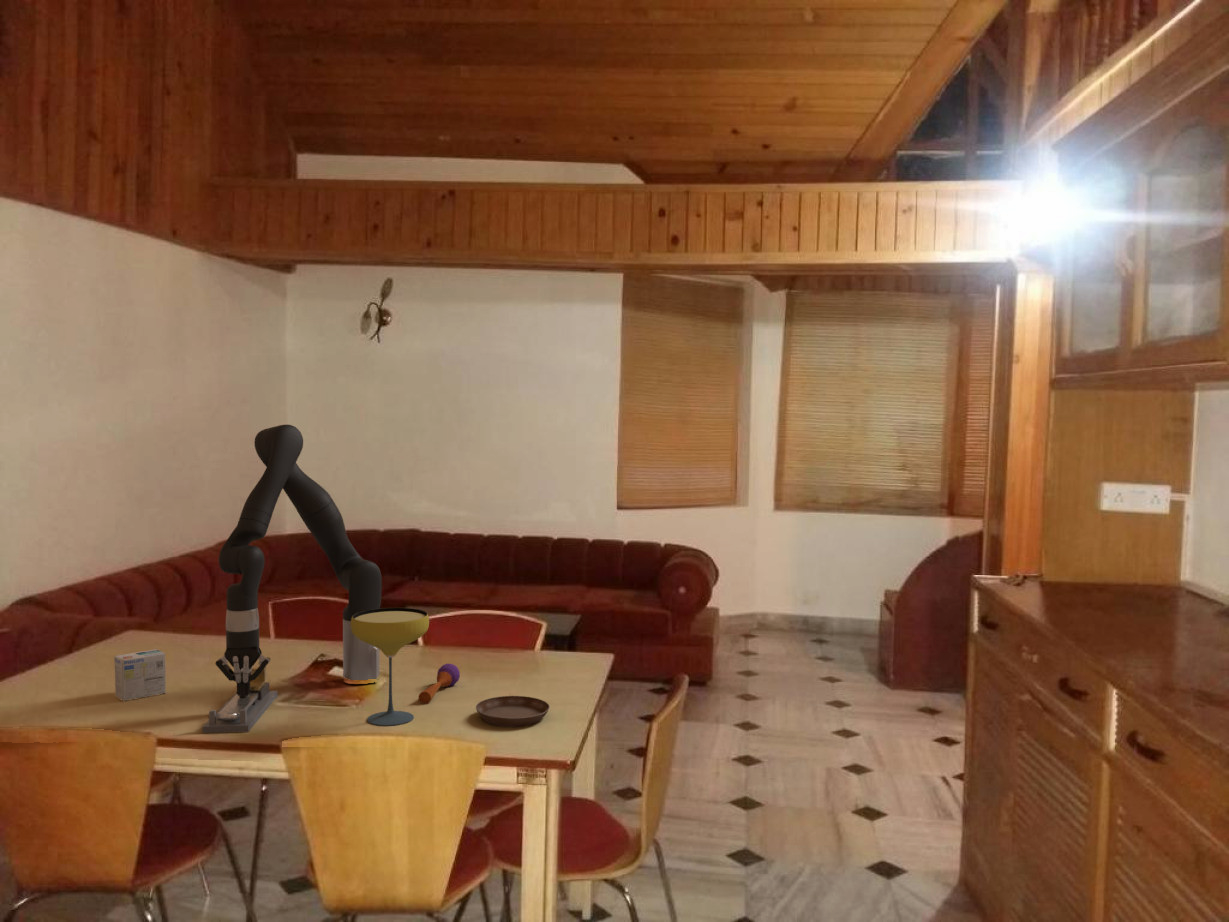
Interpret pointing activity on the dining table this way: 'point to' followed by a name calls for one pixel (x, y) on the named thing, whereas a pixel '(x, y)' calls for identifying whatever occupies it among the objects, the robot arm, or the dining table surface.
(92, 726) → the dining table surface
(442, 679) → the purple maraca
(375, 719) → the cocktail glass
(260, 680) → the block
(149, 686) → the light bulb box
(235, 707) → the grey flat bar
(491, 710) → the plant saucer
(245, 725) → the base
